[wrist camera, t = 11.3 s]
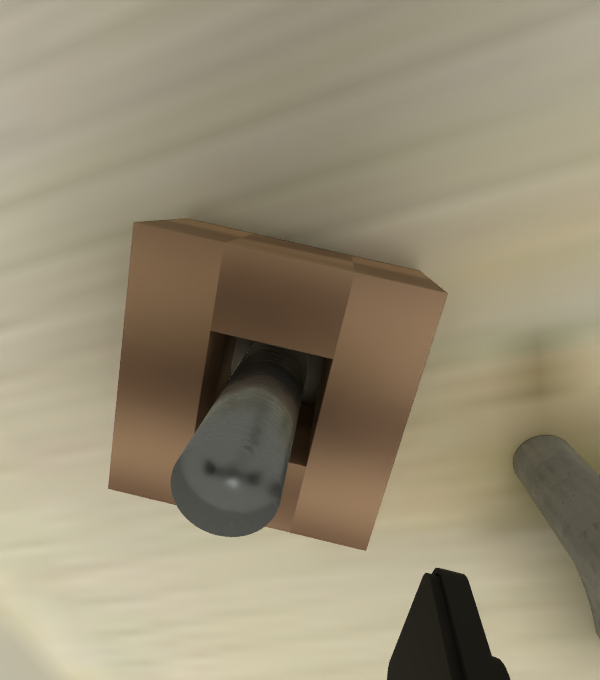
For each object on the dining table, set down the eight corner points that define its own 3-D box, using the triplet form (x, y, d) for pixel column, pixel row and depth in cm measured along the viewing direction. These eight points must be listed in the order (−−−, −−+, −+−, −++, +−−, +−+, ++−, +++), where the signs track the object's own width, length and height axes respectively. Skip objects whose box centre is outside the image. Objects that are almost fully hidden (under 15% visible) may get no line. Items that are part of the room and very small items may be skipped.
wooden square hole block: (186, 218, 22) (133, 222, 17) (420, 271, 22) (447, 293, 16) (159, 426, 26) (108, 488, 20) (360, 474, 26) (365, 550, 20)
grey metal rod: (257, 320, 24) (178, 427, 12) (316, 334, 24) (291, 454, 12) (246, 375, 25) (164, 522, 13) (303, 388, 25) (269, 548, 13)
